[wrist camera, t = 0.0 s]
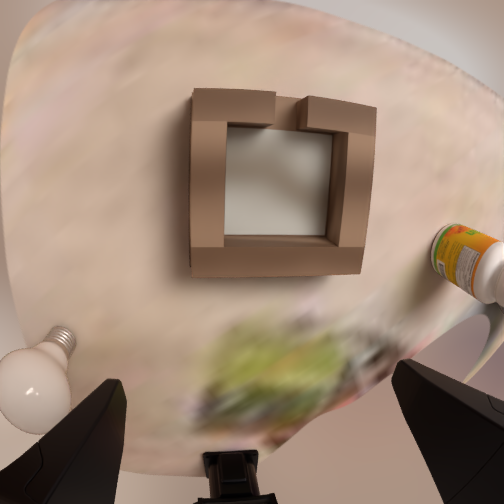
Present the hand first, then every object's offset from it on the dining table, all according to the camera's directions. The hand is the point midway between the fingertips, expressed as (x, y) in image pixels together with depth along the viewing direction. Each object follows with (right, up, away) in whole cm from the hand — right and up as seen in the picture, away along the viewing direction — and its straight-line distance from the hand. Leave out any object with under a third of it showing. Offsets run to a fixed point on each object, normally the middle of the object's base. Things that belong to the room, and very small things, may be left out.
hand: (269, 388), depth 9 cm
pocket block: (+1, +9, +13) cm, 16 cm away
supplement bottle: (+19, +4, +17) cm, 26 cm away
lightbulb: (-17, -3, +14) cm, 23 cm away
